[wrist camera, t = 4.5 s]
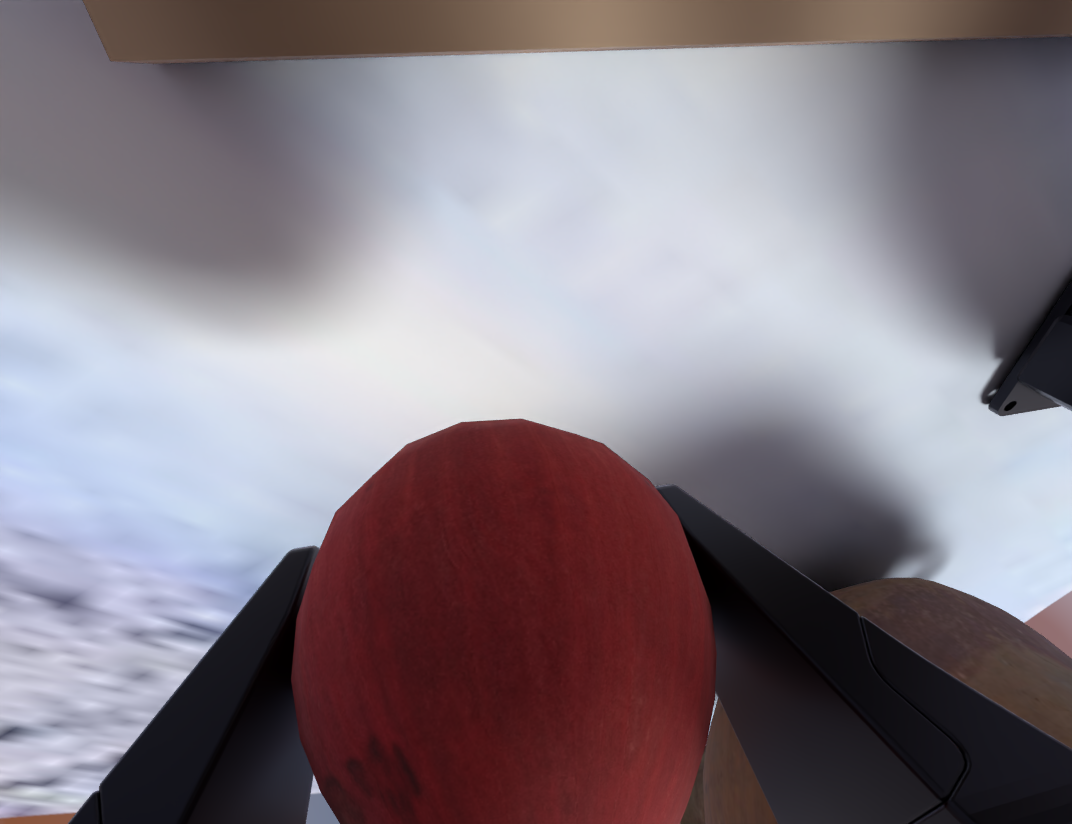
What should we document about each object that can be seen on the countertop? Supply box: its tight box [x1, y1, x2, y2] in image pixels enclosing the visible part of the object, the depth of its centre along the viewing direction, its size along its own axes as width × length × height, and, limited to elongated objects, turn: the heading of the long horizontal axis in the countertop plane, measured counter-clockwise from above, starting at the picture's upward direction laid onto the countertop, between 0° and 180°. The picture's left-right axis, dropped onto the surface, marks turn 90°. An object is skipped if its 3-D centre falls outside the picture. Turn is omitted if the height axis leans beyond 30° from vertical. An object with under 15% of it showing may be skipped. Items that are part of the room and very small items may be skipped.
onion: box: [291, 419, 717, 824], centre depth 7 cm, size 6×6×8 cm
